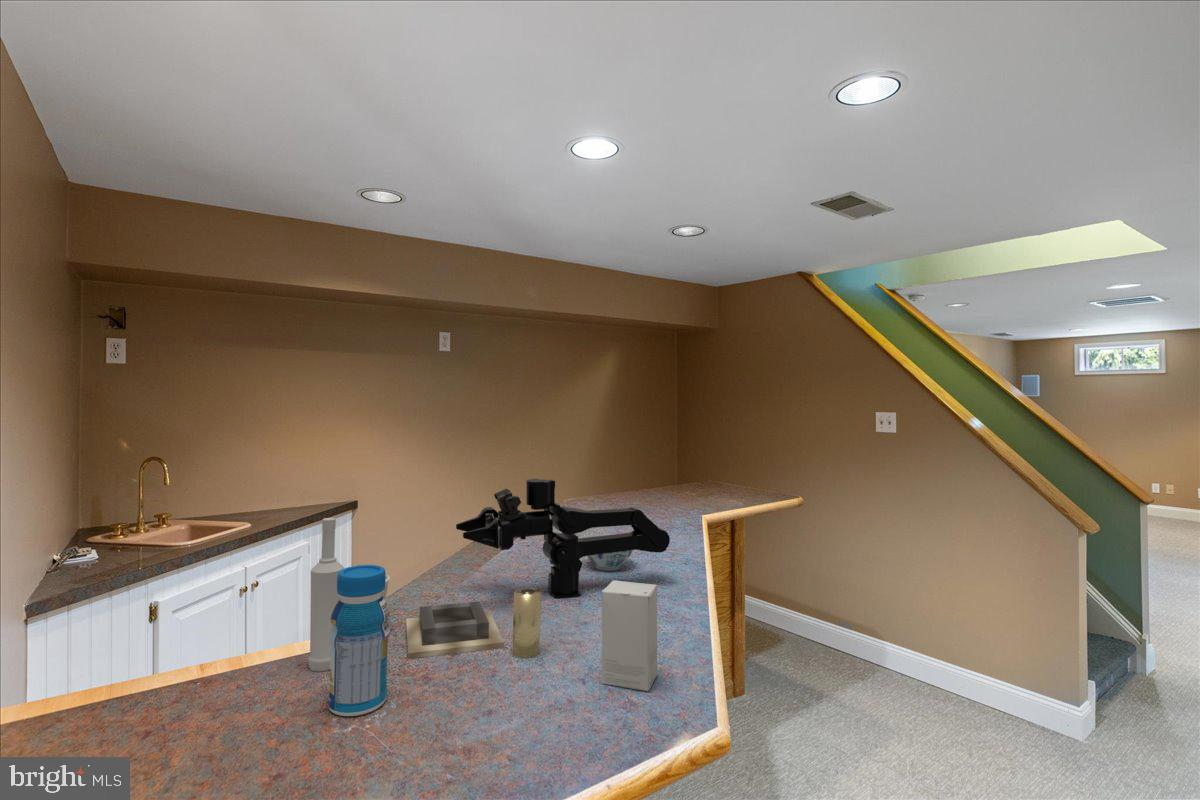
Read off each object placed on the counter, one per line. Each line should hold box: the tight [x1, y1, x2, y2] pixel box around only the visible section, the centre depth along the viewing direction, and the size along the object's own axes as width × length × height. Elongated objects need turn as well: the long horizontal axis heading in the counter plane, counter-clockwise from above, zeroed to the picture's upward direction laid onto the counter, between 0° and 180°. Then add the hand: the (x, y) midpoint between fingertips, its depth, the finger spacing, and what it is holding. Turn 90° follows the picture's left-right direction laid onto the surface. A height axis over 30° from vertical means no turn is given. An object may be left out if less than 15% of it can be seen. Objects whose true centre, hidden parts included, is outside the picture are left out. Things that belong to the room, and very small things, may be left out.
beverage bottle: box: [327, 564, 391, 717], centre depth 87 cm, size 8×8×20 cm
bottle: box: [307, 517, 345, 672], centre depth 99 cm, size 5×5×25 cm
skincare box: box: [601, 579, 658, 692], centre depth 96 cm, size 8×7×16 cm
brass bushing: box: [511, 587, 542, 659], centre depth 106 cm, size 5×5×11 cm
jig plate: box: [405, 601, 505, 660], centre depth 113 cm, size 17×17×4 cm
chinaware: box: [583, 533, 634, 572], centre depth 162 cm, size 15×15×8 cm
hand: (459, 530), depth 129 cm, fingers open, 9 cm apart
